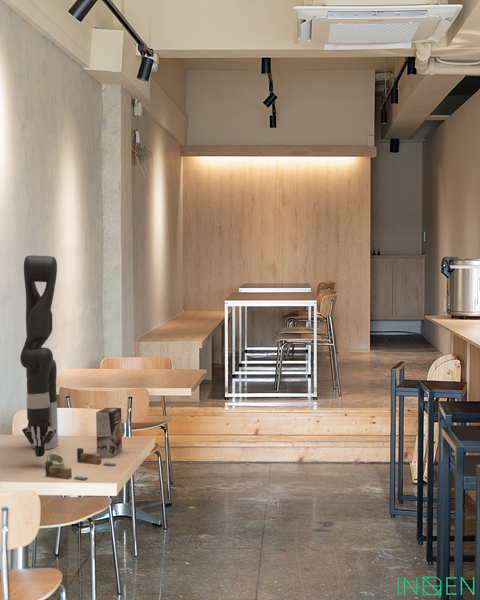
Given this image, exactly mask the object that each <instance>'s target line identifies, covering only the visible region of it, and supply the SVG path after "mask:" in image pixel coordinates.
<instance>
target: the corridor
mask: <svg viewBox="0 0 480 600" xmlns="http://www.w3.org/2000/svg"><path fill="white" fill-rule="evenodd" d="M76 455H77V456H76V459H77V463H83V462H84V464H92V465H101V464H102V457H101V455H100V454H97V453H90V452H89V453H88V452H84V448H82V447H79V448H77V449H76ZM46 461H47V460H46ZM46 461H45V465H46V469H45V477H51V478H52V477H53V478H60V479H67V480H70V479H71V478H72V476H73V475H72V468H71V467H64V466H63V467H57V466H52V463H53V461H47V462H46Z"/></svg>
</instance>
